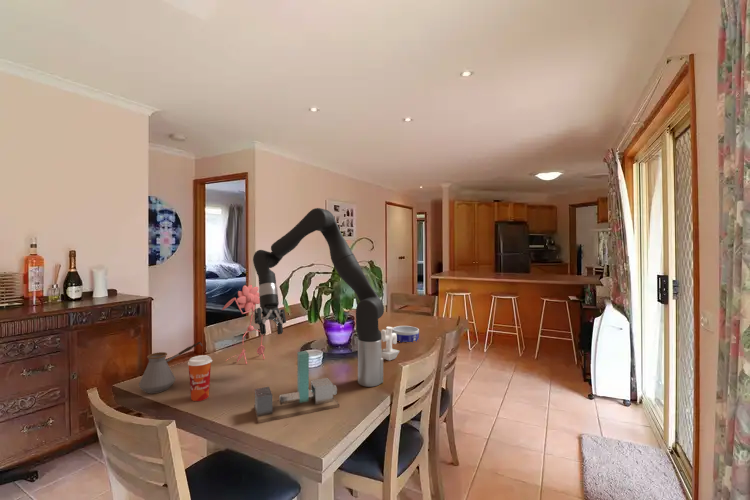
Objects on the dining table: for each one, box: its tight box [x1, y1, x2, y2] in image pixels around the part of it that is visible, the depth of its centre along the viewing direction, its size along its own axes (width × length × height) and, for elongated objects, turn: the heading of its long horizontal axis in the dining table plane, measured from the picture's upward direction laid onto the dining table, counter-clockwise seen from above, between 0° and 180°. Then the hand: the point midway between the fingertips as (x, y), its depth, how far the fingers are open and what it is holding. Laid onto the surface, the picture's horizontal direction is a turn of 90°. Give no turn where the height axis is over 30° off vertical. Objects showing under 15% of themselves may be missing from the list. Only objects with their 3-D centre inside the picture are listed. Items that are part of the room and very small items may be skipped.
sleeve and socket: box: [254, 377, 334, 418], centre depth 116 cm, size 24×7×6 cm, turn 115°
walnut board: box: [253, 395, 340, 424], centre depth 116 cm, size 26×11×1 cm, turn 115°
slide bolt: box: [278, 350, 338, 405], centre depth 118 cm, size 19×3×16 cm, turn 115°
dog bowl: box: [392, 325, 420, 343], centre depth 199 cm, size 15×15×6 cm
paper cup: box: [187, 354, 213, 402], centre depth 123 cm, size 8×8×14 cm
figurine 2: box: [380, 326, 400, 362], centre depth 165 cm, size 7×9×15 cm
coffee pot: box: [138, 341, 203, 394], centre depth 133 cm, size 21×12×15 cm, turn 133°
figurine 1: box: [221, 284, 277, 365], centre depth 164 cm, size 15×26×35 cm, turn 141°
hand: (272, 334), depth 142 cm, fingers open, 8 cm apart
